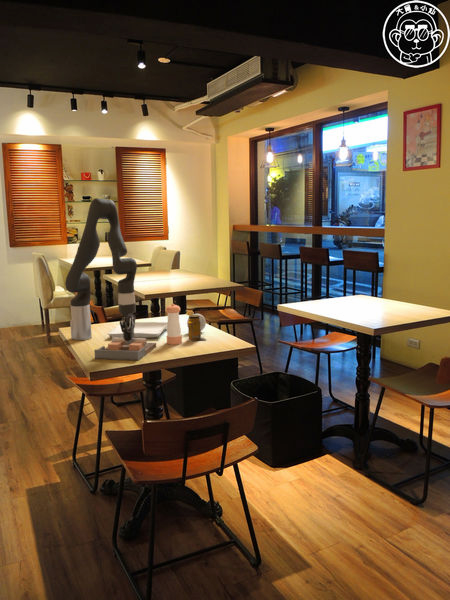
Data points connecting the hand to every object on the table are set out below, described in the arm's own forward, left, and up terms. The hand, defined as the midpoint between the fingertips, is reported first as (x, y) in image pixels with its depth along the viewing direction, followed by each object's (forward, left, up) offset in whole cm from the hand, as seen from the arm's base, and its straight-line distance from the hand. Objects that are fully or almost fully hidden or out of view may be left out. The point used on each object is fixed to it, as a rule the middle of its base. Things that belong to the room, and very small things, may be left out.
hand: (128, 339), depth 239 cm
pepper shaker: (+16, +18, -6) cm, 24 cm away
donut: (+21, +41, -6) cm, 46 cm away
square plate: (-8, +35, -6) cm, 36 cm away
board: (0, +2, -6) cm, 6 cm away
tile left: (-5, -4, -3) cm, 7 cm away
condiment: (+25, +26, -6) cm, 36 cm away
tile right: (+5, -3, -4) cm, 7 cm away
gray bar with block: (0, 0, -3) cm, 3 cm away
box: (0, -10, -6) cm, 11 cm away
